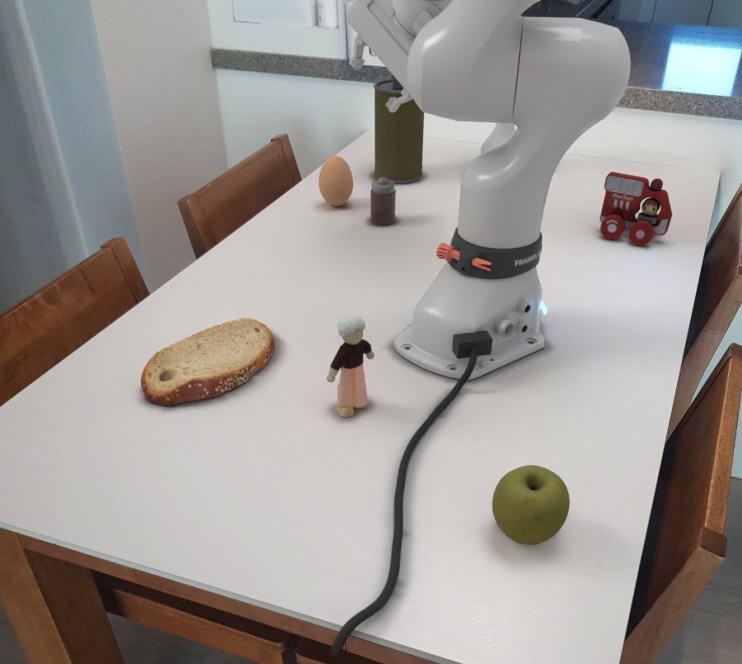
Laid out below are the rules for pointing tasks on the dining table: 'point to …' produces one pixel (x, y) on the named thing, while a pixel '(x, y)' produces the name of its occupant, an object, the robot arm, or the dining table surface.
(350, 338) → the grandmother figurine
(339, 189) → the egg
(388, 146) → the canister
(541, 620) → the dining table surface
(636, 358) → the dining table surface
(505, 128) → the flower vase
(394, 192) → the pepper shaker
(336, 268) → the dining table surface
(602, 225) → the toy fire truck
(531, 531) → the apple
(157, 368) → the slice of bread
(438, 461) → the dining table surface
